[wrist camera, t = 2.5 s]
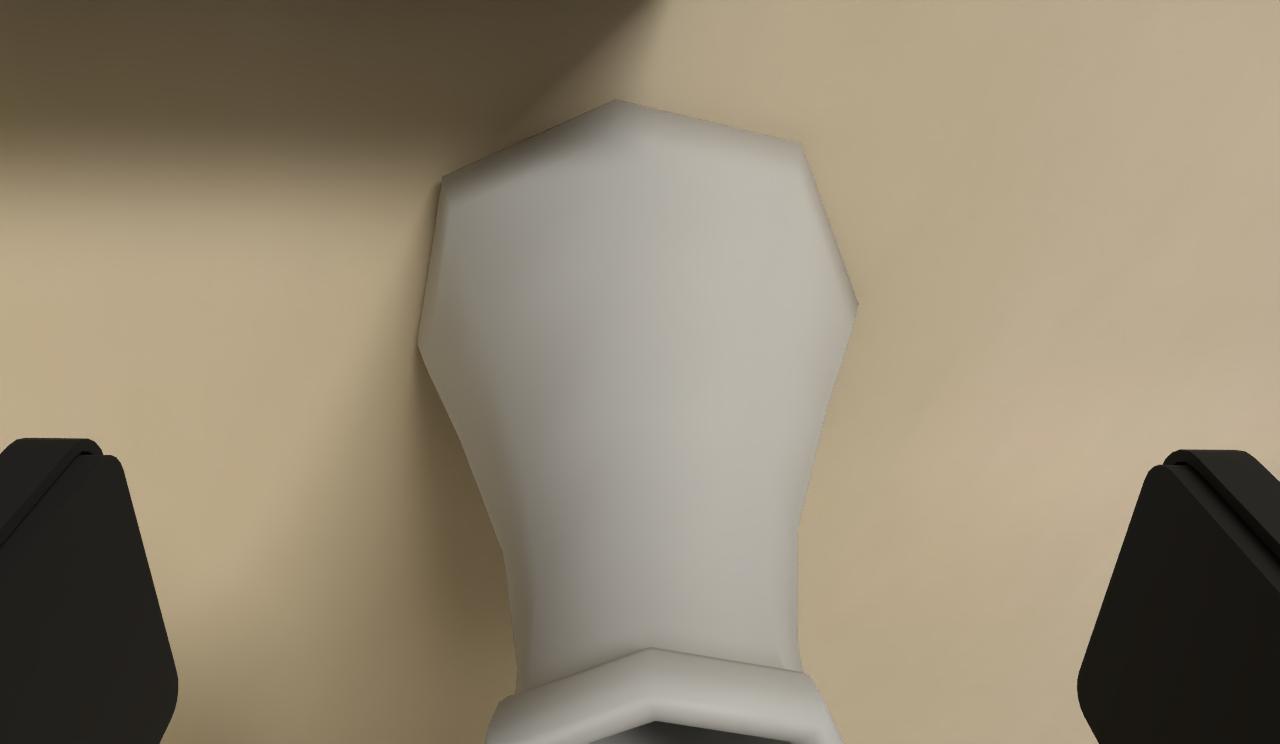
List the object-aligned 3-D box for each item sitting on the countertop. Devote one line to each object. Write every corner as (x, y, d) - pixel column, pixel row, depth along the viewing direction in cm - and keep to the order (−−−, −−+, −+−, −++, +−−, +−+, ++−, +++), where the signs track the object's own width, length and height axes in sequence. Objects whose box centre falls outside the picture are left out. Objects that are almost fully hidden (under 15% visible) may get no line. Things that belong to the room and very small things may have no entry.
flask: (852, 480, 18) (1090, 1081, 9) (457, 514, 18) (309, 1143, 9) (857, 72, 15) (1244, 390, 6) (374, 118, 15) (18, 496, 6)
